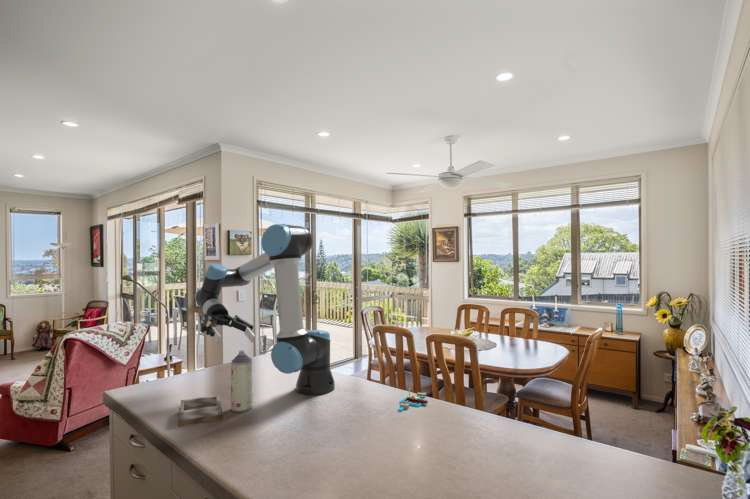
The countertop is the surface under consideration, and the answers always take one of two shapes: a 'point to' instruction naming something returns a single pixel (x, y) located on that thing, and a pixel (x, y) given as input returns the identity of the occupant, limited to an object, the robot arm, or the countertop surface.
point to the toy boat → (412, 399)
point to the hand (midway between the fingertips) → (236, 339)
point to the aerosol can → (241, 383)
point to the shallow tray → (200, 410)
